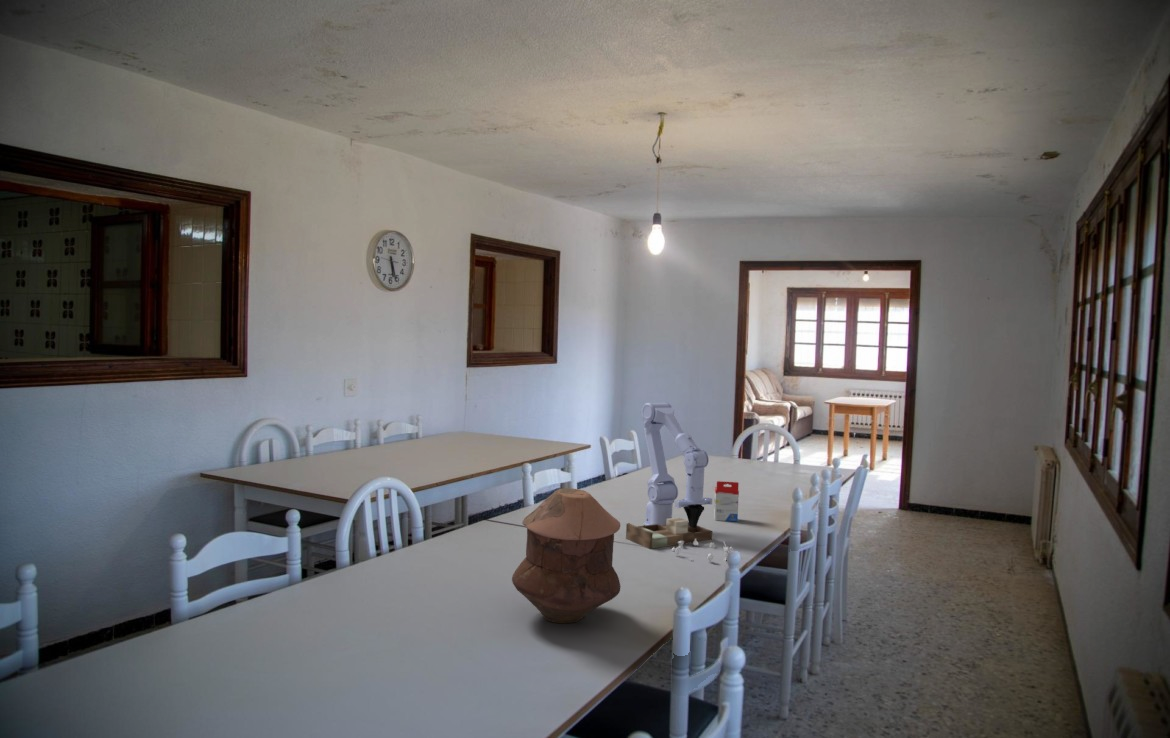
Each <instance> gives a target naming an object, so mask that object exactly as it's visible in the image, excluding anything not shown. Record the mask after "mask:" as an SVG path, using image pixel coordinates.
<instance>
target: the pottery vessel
mask: <svg viewBox="0 0 1170 738" xmlns="http://www.w3.org/2000/svg"><path fill="white" fill-rule="evenodd" d="M521 523H522V525H523V526H525V528H526V544H525V547H526V548H525V557H524V559H523V560H522V561H521V562H520V564H519V565H518V567H517V568H516V569H515V571H514V572H513V574H512V577H511V583H512V584H513V586H514V587H515V589H516V590H517V592H519V593H520V594H521V595H522V596H524V598H526V599H527V601H529V602H530V603H531V604H532V605H533V607H534V608H535V609H537V610H538V611H539V613H541V614H542V616H543V618H544V619H545V620H547V621H549V622H552V623H556V624H569V623H570V624H571V623H575V622H579V621H581V620H582V618H583V617H584V615H586V614H588V613H590V612H591V611H593V610H595V609H597V608H599V607H600V606H602V605H604V604H606V603H607V602H610V601H612V600H613V599H615V598H617V596H618V595H619V594H620V591H621V583H620V578H619V576H618V574H617V572H616V570H615V568H614V567H613V559H614V558H613V557H614V556H613V555H614V543H615V542H614V541H615V534H616V533H617V532H619V530H620V529H621V522H620V521H619V520H618V519H617V518H616V517H614V516H613V515H612V514H611V513H610V512H608V511H607V510H606V509H605V508H604V507H603V505H601V504H600V503H599V501H597V499H596V498H595V497H594V496H592V494H591V493H589V492H587V491H586V490H583V489H577V488H571V487H568V488H565V487H564V488H559V489H556V490H555V491H554V492H552V494H550V495H549V496H548V497H547V498H546V499H544V500H543V502H541V503H540V504H539V505H538V506H537V507H536V508H535V509H534V510H533V511H531V513H529V514H528V515H526V516H525V517H523V520H522V522H521Z"/></svg>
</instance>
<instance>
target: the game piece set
mask: <svg viewBox="0 0 1170 738" xmlns="http://www.w3.org/2000/svg"><path fill="white" fill-rule="evenodd" d="M678 543H679V545H677V546H676V547H675V546H673V547H672V548H671V551H672V552H674V554H675V556H676V557H679V556H680V551H681V549H683V548H684V546H683V545H684V544H683V543H684V541H678ZM692 545H694V547H696V546H698V547H699V542H697V541H696V539H695V541H694V542H693V543H692ZM722 547H723V553H724V558H723V559H722V561H723V562H727V561H726V558H727V555H726V553H727V552H728V551H729V552H730V551H732V552H733V550H734V548H733V547H732V546H730V547H729V546H727V544H726V542H725V541H723V546H722ZM709 548H710V549H716V546H715V542H710V543H709ZM725 551H726V552H725ZM686 558H688V561H689V562H694V558H690V557H689V556H688V555H687V556H686ZM713 559H714V555H713V554H712V553H708V555H707V558H706V561H707V563H709V564H711V563H712V560H713Z"/></svg>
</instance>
